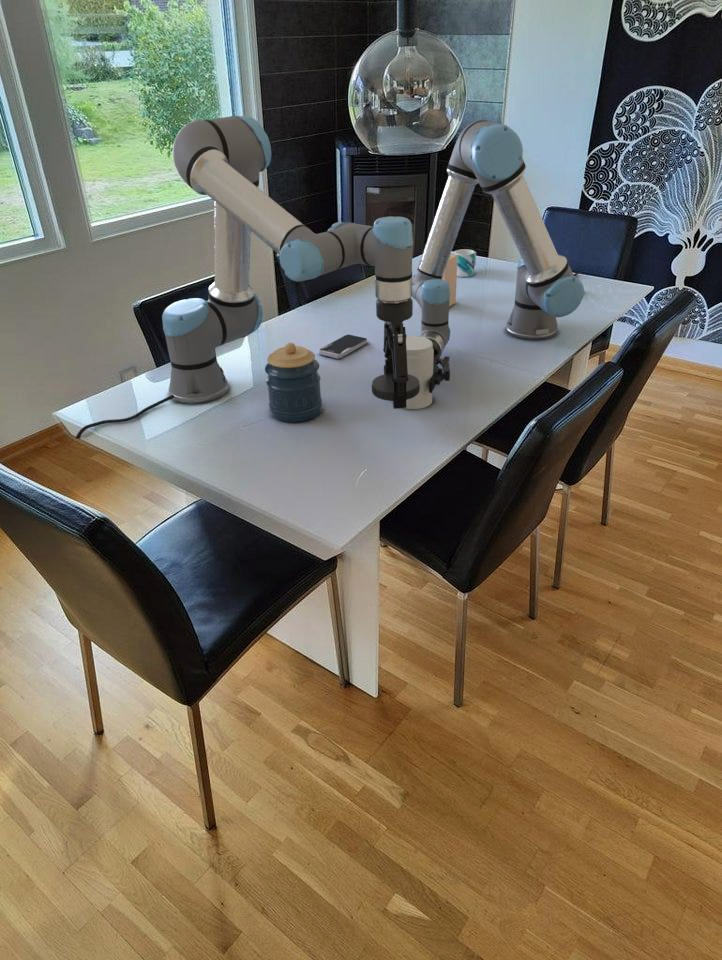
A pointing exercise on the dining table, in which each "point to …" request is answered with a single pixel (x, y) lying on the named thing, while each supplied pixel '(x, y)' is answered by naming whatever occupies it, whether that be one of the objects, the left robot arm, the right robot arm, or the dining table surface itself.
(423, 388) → the jar
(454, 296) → the soap dispenser
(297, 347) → the canister
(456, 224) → the right robot arm
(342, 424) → the dining table surface
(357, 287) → the dining table surface
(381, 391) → the lid
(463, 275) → the mug
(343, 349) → the smartphone
